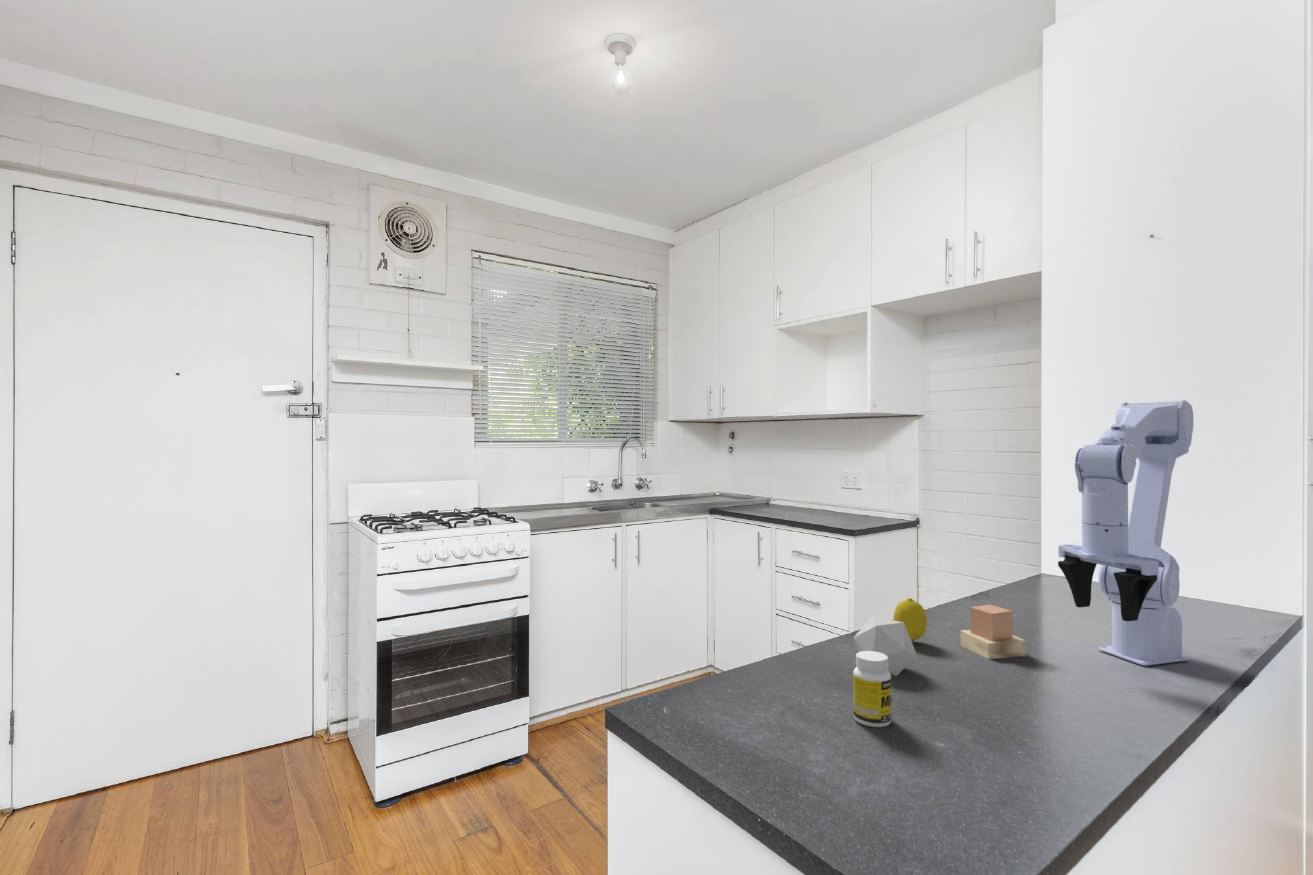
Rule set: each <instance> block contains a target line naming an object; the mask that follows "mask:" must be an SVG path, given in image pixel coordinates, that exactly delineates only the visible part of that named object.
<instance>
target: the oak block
mask: <svg viewBox="0 0 1313 875" xmlns="http://www.w3.org/2000/svg"><path fill="white" fill-rule="evenodd" d="M960 646H962V647H963V648H965V649H967V650H970V651H972V652H974V653H975V654H978V655H979V656H981V657H984V658H986V659H988V660H990V659H991V660H992V659H1006V658H1019V657H1018V656H1020V657H1026V656H1027V654H1026V653H1027V652H1026V640H1025V639H1022V638H1020V637H1018V636H1016V635H1014V634H1013V638H1007V639H1000V640H994V641H992V640H989V639H986V638H983V637H980V636H978V635H975V634H972V633H971V629H964V630H963V629H961V630H960Z"/></svg>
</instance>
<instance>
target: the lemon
mask: <svg viewBox="0 0 1313 875" xmlns="http://www.w3.org/2000/svg"><path fill="white" fill-rule="evenodd" d="M893 620H894V621H899V622H904V624H905V627H906V629H907V632H908V634H909V637H910V639H911V642H912V643H913V642H915V641H916V640H919V639H921V638H922V637H923V636H924V635H925V632H926V631H927V626H928V618H927V614H926V610H925V609H924V607H923V606H922V604H920V602H917V601H915V600H914V599H913V598H911V597H908V598H907V599H904V600H902V601H900V602H899V603H898V604H897V605H896V607H895V608H894V614H893Z"/></svg>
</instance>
